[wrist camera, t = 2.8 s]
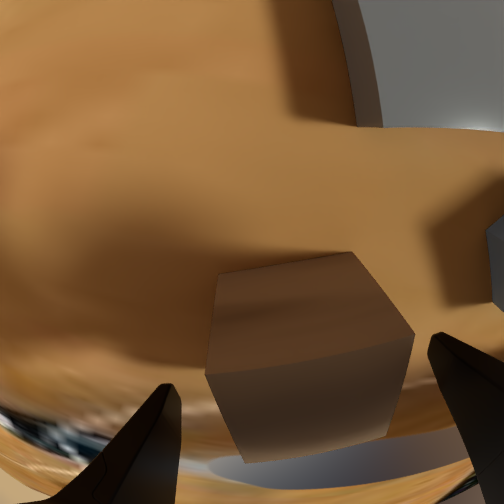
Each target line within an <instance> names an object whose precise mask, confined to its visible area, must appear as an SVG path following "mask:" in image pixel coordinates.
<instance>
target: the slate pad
mask: <svg viewBox="0 0 504 504" xmlns="http://www.w3.org/2000/svg"><path fill="white" fill-rule="evenodd" d="M332 3H333V7H334V10H335V14H336V18H337V22H338V26H339V30H340V34H341V39H342V43H343V47H344V52H345V57H346V62H347V67H348V72H349V78H350V83H351V89H352V95H353V101H354V108H355V115H356V123H357V127H379V128H390V127H434V128H459V129H474V130H486V131H496V132H504V0H332Z"/></svg>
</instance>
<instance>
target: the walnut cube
mask: <svg viewBox="0 0 504 504" xmlns="http://www.w3.org/2000/svg"><path fill="white" fill-rule="evenodd" d="M414 337H415V333H414V331H413V330H412V329H411V327H410V326H409V324H408V323H407V322H406V320H405V319H404V318H403V316H402V315H401V314H400V312H399V311H398V309H397V308H396V307H395V305H394V304H393V303H392V301H391V300H390V299H389V297H388V296H387V295H386V294H385V292H384V291H383V290H382V288H381V287H380V286H379V284H378V283H377V282H376V281H375V279H374V278H373V277H372V276H371V274H370V273H369V272H368V270H367V269H366V268H365V267H364V265H363V264H362V263H361V262H360V261H359V259H358V258H357V257H356V256H355V254H354V253H353V252H347V253H342V254H336V255H330V256H325V257H319V258H313V259H307V260H302V261H296V262H290V263H284V264H278V265H272V266H266V267H260V268H254V269H248V270H242V271H236V272H229V273H223V274H218V280H217V287H216V294H215V301H214V308H213V315H212V323H211V330H210V338H209V345H208V353H207V361H206V369H205V376H206V379H207V381H208V384H209V386H210V389H211V391H212V393H213V396H214V398H215V400H216V403H217V405H218V407H219V409H220V412H221V414H222V416H223V418H224V421H225V423H226V425H227V427H228V429H229V431H230V434H231V436H232V438H233V440H234V442H235V444H236V446H237V448H238V450H239V452H240V454H241V456H242V458H243V460H244V462H245V463H256V462H266V461H274V460H282V459H288V458H296V457H301V456H307V455H313V454H318V453H323V452H328V451H332V450H336V449H341V448H345V447H349V446H353V445H357V444H360V443H364V442H367V441H371V440H374V439H377V438H381V437H384V436H386V434H387V431H388V428H389V425H390V423H391V420H392V417H393V414H394V411H395V408H396V405H397V402H398V399H399V395H400V392H401V389H402V385H403V382H404V378H405V375H406V371H407V367H408V363H409V359H410V355H411V351H412V346H413V342H414Z"/></svg>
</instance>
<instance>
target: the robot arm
mask: <svg viewBox="0 0 504 504" xmlns="http://www.w3.org/2000/svg"><path fill="white" fill-rule="evenodd" d="M427 355H428V359H429V361H430V364H431V367H432V369H433V372H434V375H435V377H436V380H437V383H438V386H439V388H440V391H441V393H442V395H443V397H444V399H445V401H446V403H447V406H448V408H449V410H450V412H451V414H452V416H453V419H454V421H455V423H456V425H457V428H458V430H459V432H460V435H461V437H462V439H463V442H464V444H465V447H466V449H467V452H468V454H469V457H470V459H471V462H472V465H473V467H474V470H475V473H476V476H477V479H478V482H479V484H480V487H481V490H482V494H483V497H484V499H485V503H486V504H504V362H502V361H500V360H498V359H496V358H494V357H492V356H490V355H488V354H486V353H484V352H482V351H480V350H478V349H476V348H474V347H472V346H470V345H468V344H466V343H464V342H462V341H460V340H458V339H456V338H454V337H452V336H450V335H448V334H446V333H444V332H439V333H436V334H433V335H432V337H431V340H430V343H429V347H428V351H427ZM181 406H182V404H181V398H180V396H179V394H178V393H177V391H176V389H175V387H174V385H173V384H171V383H164V384H160V385H159V386H158V387H157V388H156V390H155V391H154V392H153V393H152V394H151V395H150V396H149V398H148V399H147V400H146V401H145V402H144V403H143V405H142V406H141V407H140V408H139V409H138V410H137V411H136V413H135V414H134V415H133V416H132V417H131V418H130V419H129V421H128V422H127V423H126V424H125V425H124V426H123V427H122V429H121V430H120V431H119V432H118V433H117V434H116V435H115V437H114V438H113V439H112V440H111V441H110V442H109V443H108V444H107V446H106V447H105V448H104V449H103V450H102V451H103V452H100V453H99V455H98V456H97V457H96V458H95V459H94V460H93V461H92V462H91V463H90V464H89V465H88V466H87V467H86V468H85V469H84V470H83V471H82V472H81V473H80V474H79V475H78V476H77V477H76V478H74V479H73V480H72V481H71V482H70V483H69V484H67V485H66V486H65V487H64V488H63V489H62V490H60V491H59V492H58V493H57V494H56V495H54V496H52V497H50V498H48V499H46V500H41V501H34V502H28V503H19V504H175V495H176V485H177V475H178V466H179V457H180V449H181Z"/></svg>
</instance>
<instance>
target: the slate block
mask: <svg viewBox="0 0 504 504" xmlns="http://www.w3.org/2000/svg"><path fill="white" fill-rule="evenodd" d="M485 231H486V237H487V244H488V251H489V260H490V269H491V282H492V300H493V303H494V304H495V305H496V306H497V307H498V308H499V309H500V310H501V311H503V312H504V215H503V216H502V217H501V218H500V219H498V220H497V221H496V222H495V223H494V224H493V225H491V226H490V227H489V228H488V229H487V230H485Z"/></svg>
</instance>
